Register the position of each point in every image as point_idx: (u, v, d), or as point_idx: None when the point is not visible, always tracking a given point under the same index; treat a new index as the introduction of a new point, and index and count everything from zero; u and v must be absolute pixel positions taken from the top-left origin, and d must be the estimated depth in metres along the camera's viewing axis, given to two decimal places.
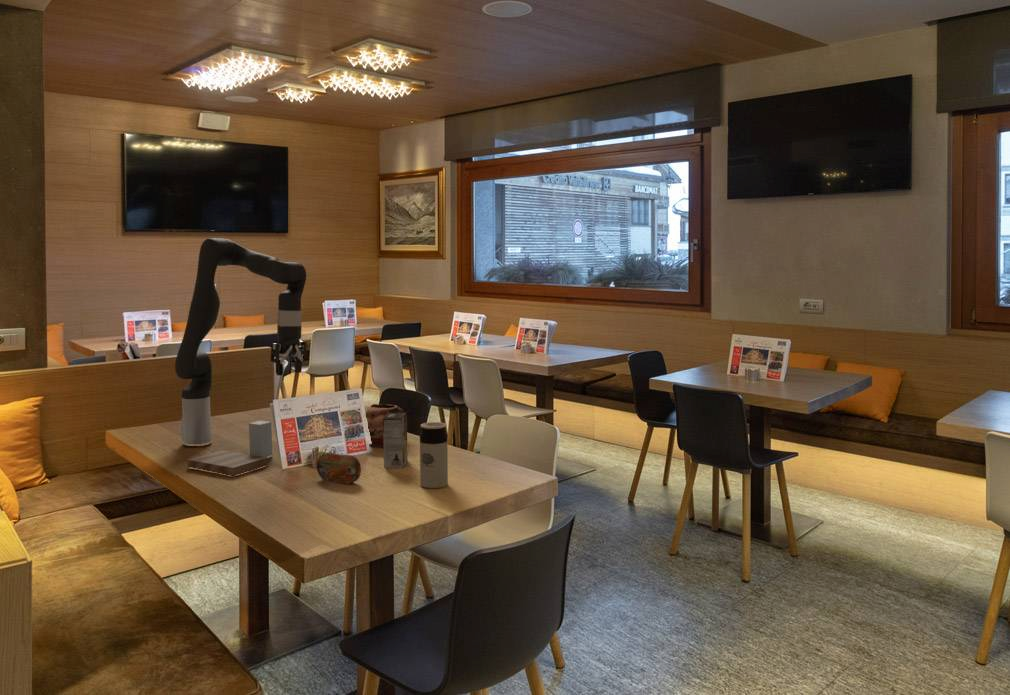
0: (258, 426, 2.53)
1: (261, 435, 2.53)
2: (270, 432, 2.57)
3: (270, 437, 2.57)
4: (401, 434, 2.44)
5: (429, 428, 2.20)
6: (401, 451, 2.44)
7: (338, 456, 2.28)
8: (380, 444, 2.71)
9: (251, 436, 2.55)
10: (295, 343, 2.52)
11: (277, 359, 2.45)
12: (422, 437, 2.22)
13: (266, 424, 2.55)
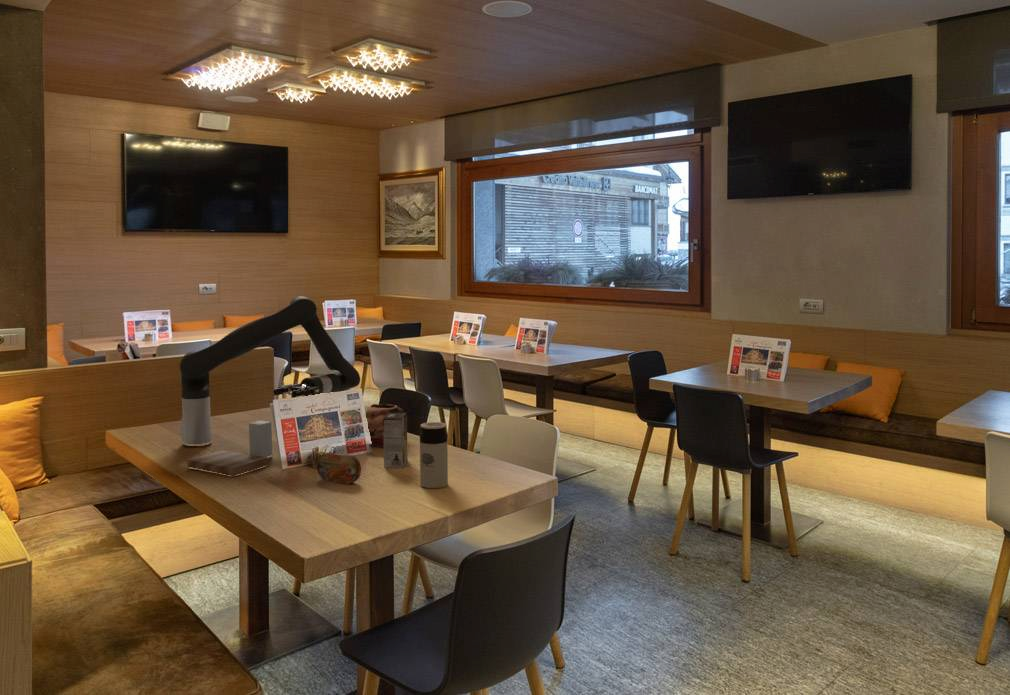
0: (258, 426, 2.53)
1: (261, 435, 2.53)
2: (270, 432, 2.57)
3: (270, 437, 2.57)
4: (401, 434, 2.44)
5: (429, 428, 2.20)
6: (401, 451, 2.44)
7: (338, 456, 2.28)
8: (380, 444, 2.71)
9: (251, 436, 2.55)
10: None
11: None
12: (422, 437, 2.22)
13: (266, 424, 2.55)
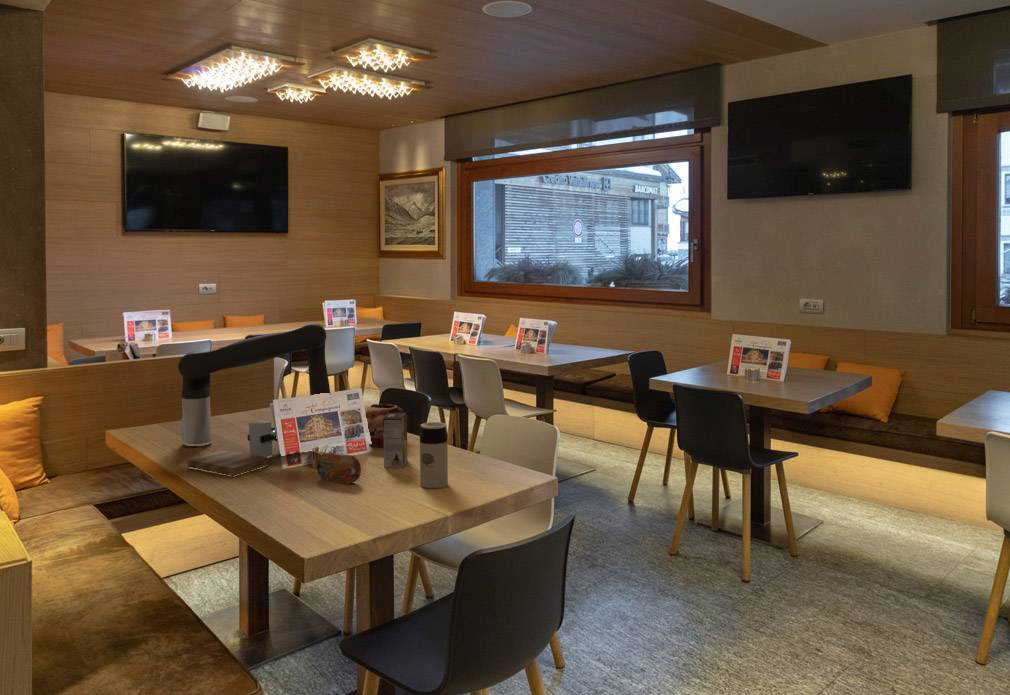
0: (258, 426, 2.53)
1: (261, 435, 2.53)
2: (270, 432, 2.57)
3: None
4: (401, 434, 2.44)
5: (429, 428, 2.20)
6: (401, 451, 2.44)
7: (338, 456, 2.28)
8: (380, 444, 2.71)
9: (251, 436, 2.55)
10: None
11: None
12: (422, 437, 2.22)
13: (266, 424, 2.55)
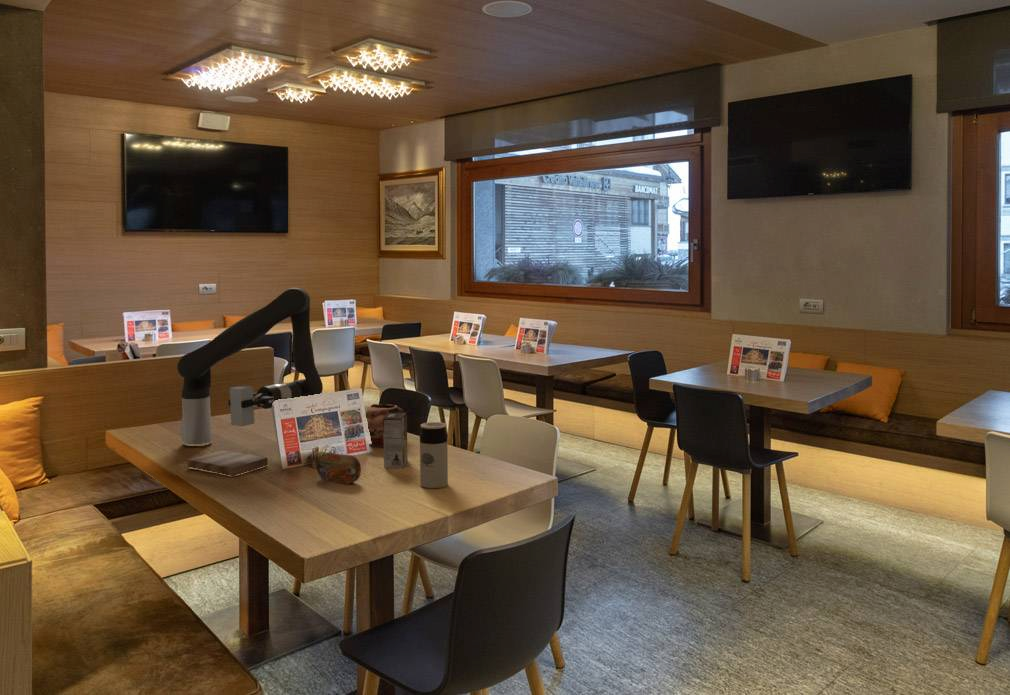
0: (239, 390, 2.45)
1: (242, 399, 2.45)
2: (252, 397, 2.49)
3: None
4: (401, 434, 2.44)
5: (429, 428, 2.20)
6: (401, 451, 2.44)
7: (338, 456, 2.28)
8: (380, 444, 2.71)
9: (232, 401, 2.47)
10: None
11: None
12: (422, 437, 2.22)
13: (248, 389, 2.47)
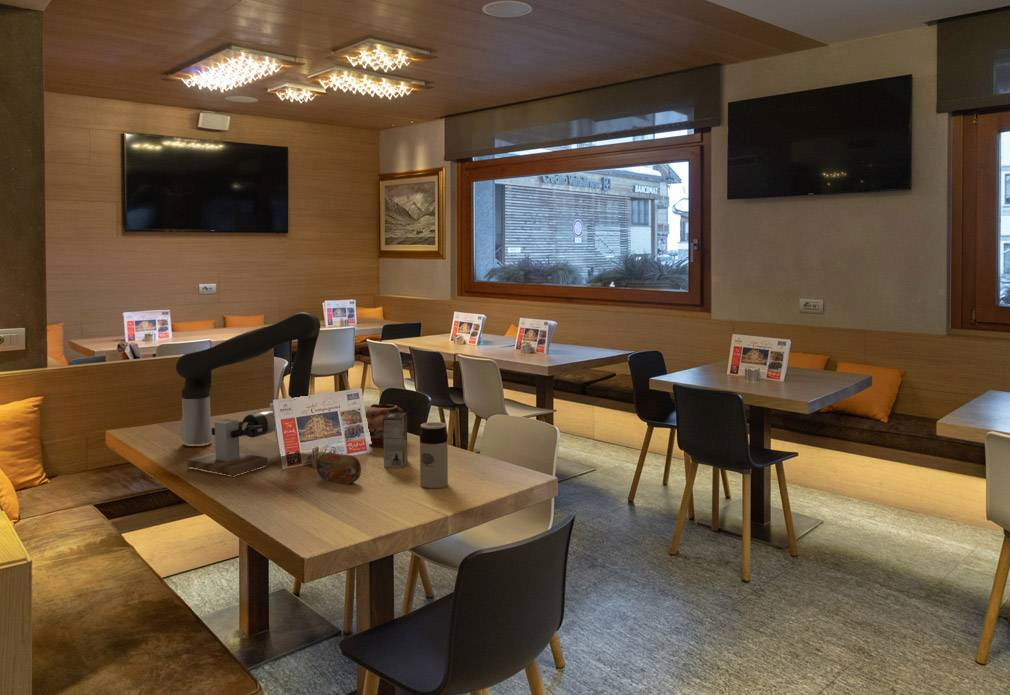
0: (224, 425, 2.40)
1: (227, 434, 2.41)
2: None
3: None
4: (401, 434, 2.44)
5: (429, 428, 2.20)
6: (401, 451, 2.44)
7: (338, 456, 2.28)
8: (380, 444, 2.71)
9: (217, 435, 2.42)
10: None
11: None
12: (422, 437, 2.22)
13: (233, 423, 2.42)
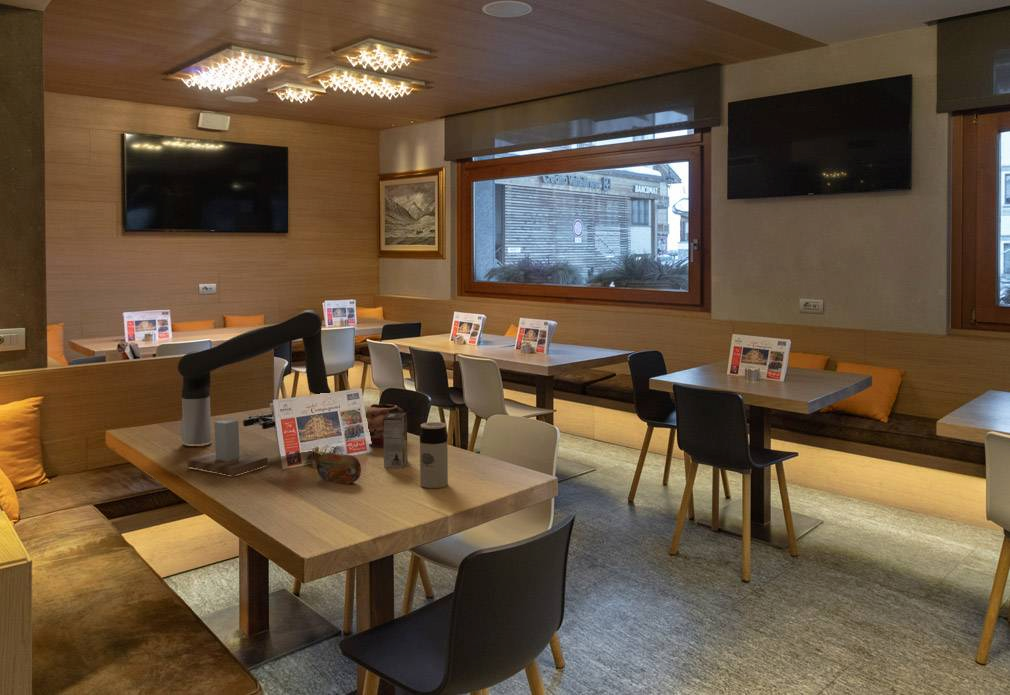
0: (224, 425, 2.40)
1: (227, 434, 2.41)
2: (237, 431, 2.44)
3: (237, 436, 2.44)
4: (401, 434, 2.44)
5: (429, 428, 2.20)
6: (401, 451, 2.44)
7: (338, 456, 2.28)
8: (380, 444, 2.71)
9: (217, 435, 2.42)
10: None
11: None
12: (422, 437, 2.22)
13: (233, 423, 2.42)
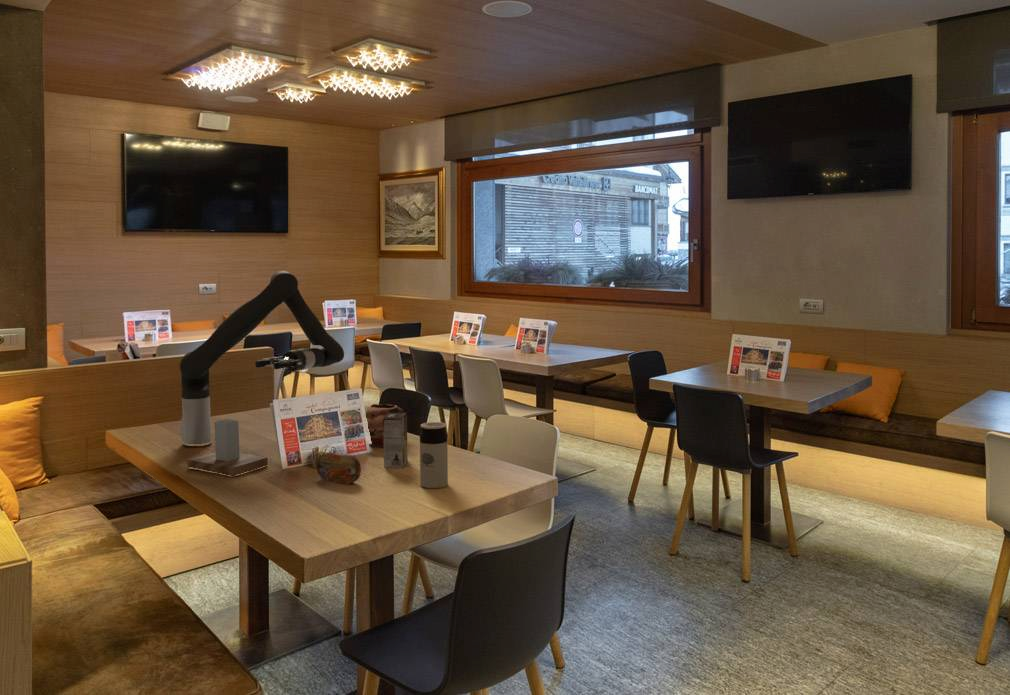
0: (224, 425, 2.40)
1: (227, 434, 2.41)
2: (237, 431, 2.44)
3: (237, 436, 2.44)
4: (401, 434, 2.44)
5: (429, 428, 2.20)
6: (401, 451, 2.44)
7: (338, 456, 2.28)
8: (380, 444, 2.71)
9: (217, 435, 2.42)
10: None
11: None
12: (422, 437, 2.22)
13: (233, 423, 2.42)
